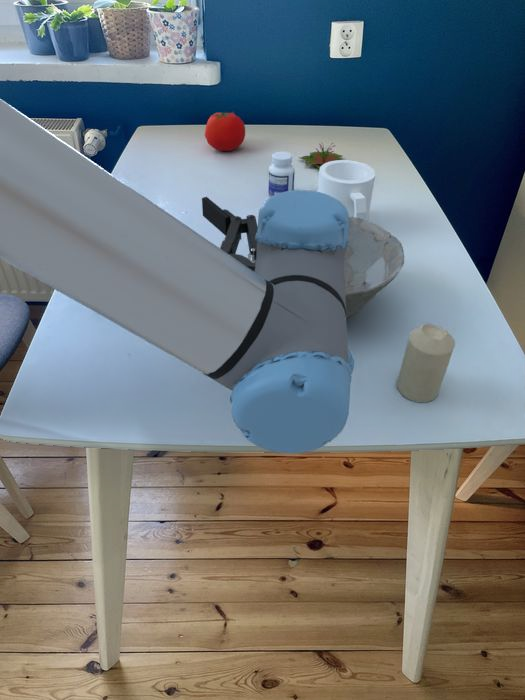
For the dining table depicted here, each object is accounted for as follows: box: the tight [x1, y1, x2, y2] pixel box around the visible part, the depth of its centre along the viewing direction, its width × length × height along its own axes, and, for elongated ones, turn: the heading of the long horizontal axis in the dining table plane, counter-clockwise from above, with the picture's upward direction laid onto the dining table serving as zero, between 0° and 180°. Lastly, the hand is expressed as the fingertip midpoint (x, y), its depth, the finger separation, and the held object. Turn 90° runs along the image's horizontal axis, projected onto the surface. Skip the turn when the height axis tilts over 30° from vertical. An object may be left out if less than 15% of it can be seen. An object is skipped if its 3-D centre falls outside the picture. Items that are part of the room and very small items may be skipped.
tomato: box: [204, 111, 246, 152], centre depth 129 cm, size 9×10×8 cm
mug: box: [316, 159, 376, 221], centre depth 100 cm, size 14×10×11 cm
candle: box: [396, 323, 456, 403], centre depth 69 cm, size 6×6×10 cm
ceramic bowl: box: [344, 217, 405, 318], centre depth 82 cm, size 22×23×10 cm
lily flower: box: [298, 142, 345, 170], centre depth 125 cm, size 12×12×5 cm
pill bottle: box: [268, 151, 296, 198], centre depth 110 cm, size 5×5×9 cm
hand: (159, 218), depth 72 cm, fingers open, 13 cm apart
